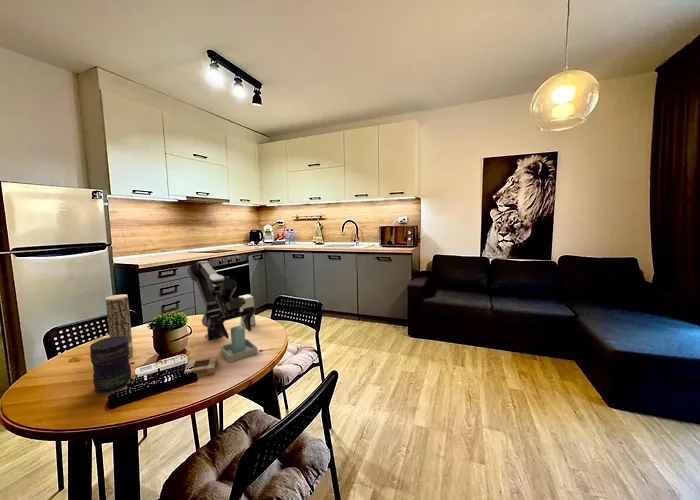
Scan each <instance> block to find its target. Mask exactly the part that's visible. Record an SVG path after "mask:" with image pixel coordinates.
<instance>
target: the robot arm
mask: <svg viewBox="0 0 700 500" xmlns="http://www.w3.org/2000/svg"><path fill="white" fill-rule="evenodd" d="M186 271H187V274H188V276H189V277H190V279H191V280H192V281H194V283H196V285H197V288H198V290H199V293H200V296H201V298H202V301H203V304H204V306H205V308H204V311H203V316H202V318H201V324H202V325H203V326H204V327H205V328H206V331H207V333H206V334H205V337H206V338H207V340H208V341H209V340H214V339H219V338H221V337H224V338H226V339H229V337H230V336H229V334H228V331H227V329H226V327H225V324H224V323H225V322H226V321H230V320H234V319H238V318H241V317H242V318H243V319H244V320H243V321H244V323H245V325H246V327H245V328H246V330H247V331H248V332H249V333H250V332H252V325H251V323H250V320H251V317H252V316H253V314H254V313H256V308H255V306H254V307H253V306H251V307H246V308H244V310H243V312H240V307H242V305H244V304H245V300H244V298H243V297H241V298H239V297H238V298H237V299H233V297H232V296H233V295H234V293H235V291H236V289H237V286H238V282H237V281H236V280H235V279H233V278H232V277H230V276H223V274H222V275H221V274H218V273H217V272H216V270H215V269H214V268H213V267H212V266H211V265H210V261H209V260H204V261H203V260H201V261H198V262H196V263H194V264H190V265H189V266H188V268H187V270H186ZM213 293H215V297H214V294H213ZM216 301H217V302H216Z"/></svg>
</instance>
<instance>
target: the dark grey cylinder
mask: <svg viewBox="0 0 700 500" xmlns="http://www.w3.org/2000/svg"><path fill="white" fill-rule="evenodd" d="M89 353H90V354H89V357H90V363H91V364H92V370H93V374H92V382H93V386H94V392H95V393H96V394H101V395H103V394H108V393H109V394H110V393H113V392H117V391H120V390H122V389H123V388H125V387H127V386H128V385H127V382H128V381H129V380H131V379H132V366H131V364H130V357H129V356H128V355H129V345H128V338H127V337H124V336H117V337H110V336H109V337H106V338H102V339H100V340H97V341H95V342H92V343H91V344H90V345H89ZM132 380H133V379H132Z"/></svg>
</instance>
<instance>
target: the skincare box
mask: <svg viewBox="0 0 700 500" xmlns="http://www.w3.org/2000/svg"><path fill="white" fill-rule="evenodd" d="M241 297H243V298H244V300H245V304H244V305H242V307H240V310H239V312H243V310H244V308H246V307H251V306H253V307H254V308H255V302H254V296H252V295H251V294H250V293H249V294H248V293H247V294H244V295H239V296H238V298H241ZM255 313H256V312H255ZM255 313H254V314H253V316H252V317H251V320H250V323H251V326H255V325H256V314H255ZM243 320H244V319H243V318H242V317H240V323H241V324H242V326H243V327H244V328H247V327H246V325H245V323H244V321H243Z"/></svg>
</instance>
